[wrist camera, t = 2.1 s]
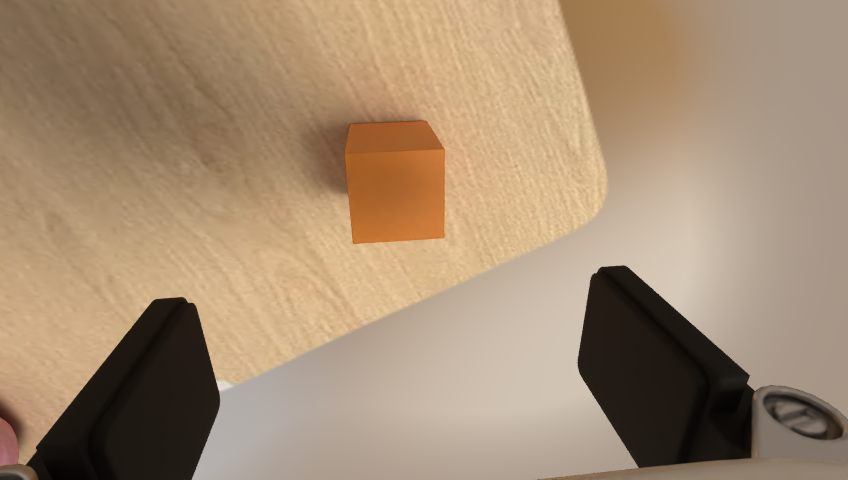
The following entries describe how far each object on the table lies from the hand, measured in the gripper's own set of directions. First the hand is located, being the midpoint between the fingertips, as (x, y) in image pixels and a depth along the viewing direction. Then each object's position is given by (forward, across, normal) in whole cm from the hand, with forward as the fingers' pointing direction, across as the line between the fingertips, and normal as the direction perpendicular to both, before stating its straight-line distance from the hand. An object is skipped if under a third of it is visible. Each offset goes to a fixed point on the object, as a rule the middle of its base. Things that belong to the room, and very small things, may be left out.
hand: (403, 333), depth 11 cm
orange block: (+15, 0, 0) cm, 15 cm away
